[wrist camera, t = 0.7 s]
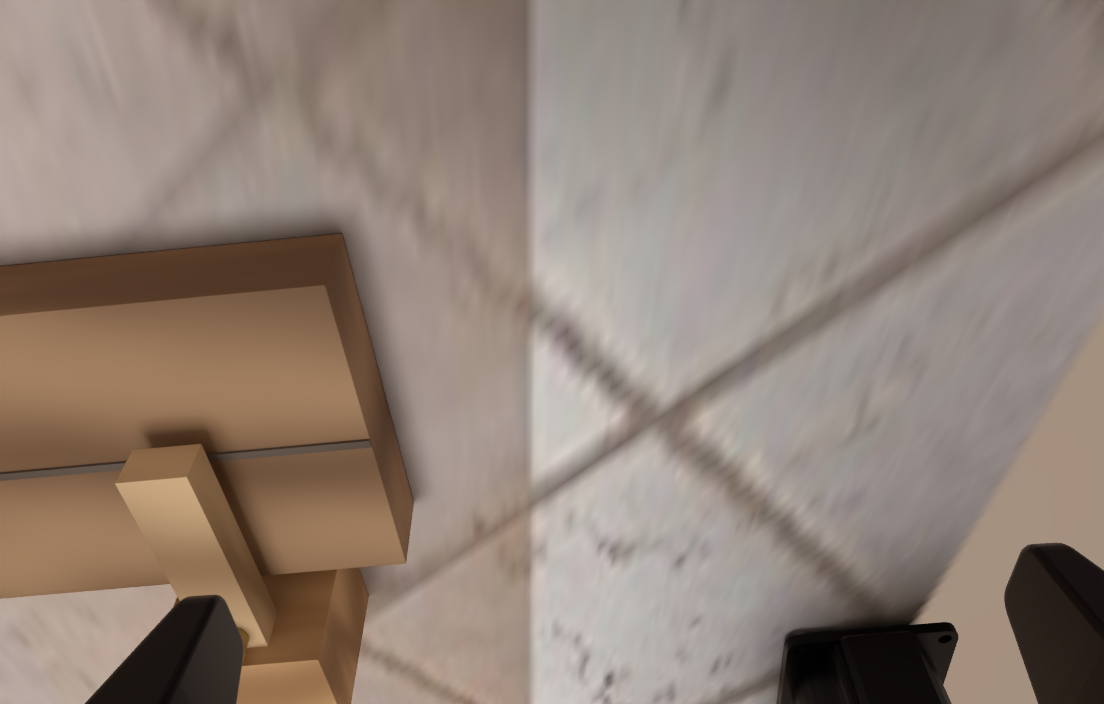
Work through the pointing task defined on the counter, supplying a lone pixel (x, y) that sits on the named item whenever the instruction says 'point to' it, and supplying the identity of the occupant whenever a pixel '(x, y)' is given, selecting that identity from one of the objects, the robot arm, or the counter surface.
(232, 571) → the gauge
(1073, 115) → the counter surface
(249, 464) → the plank
